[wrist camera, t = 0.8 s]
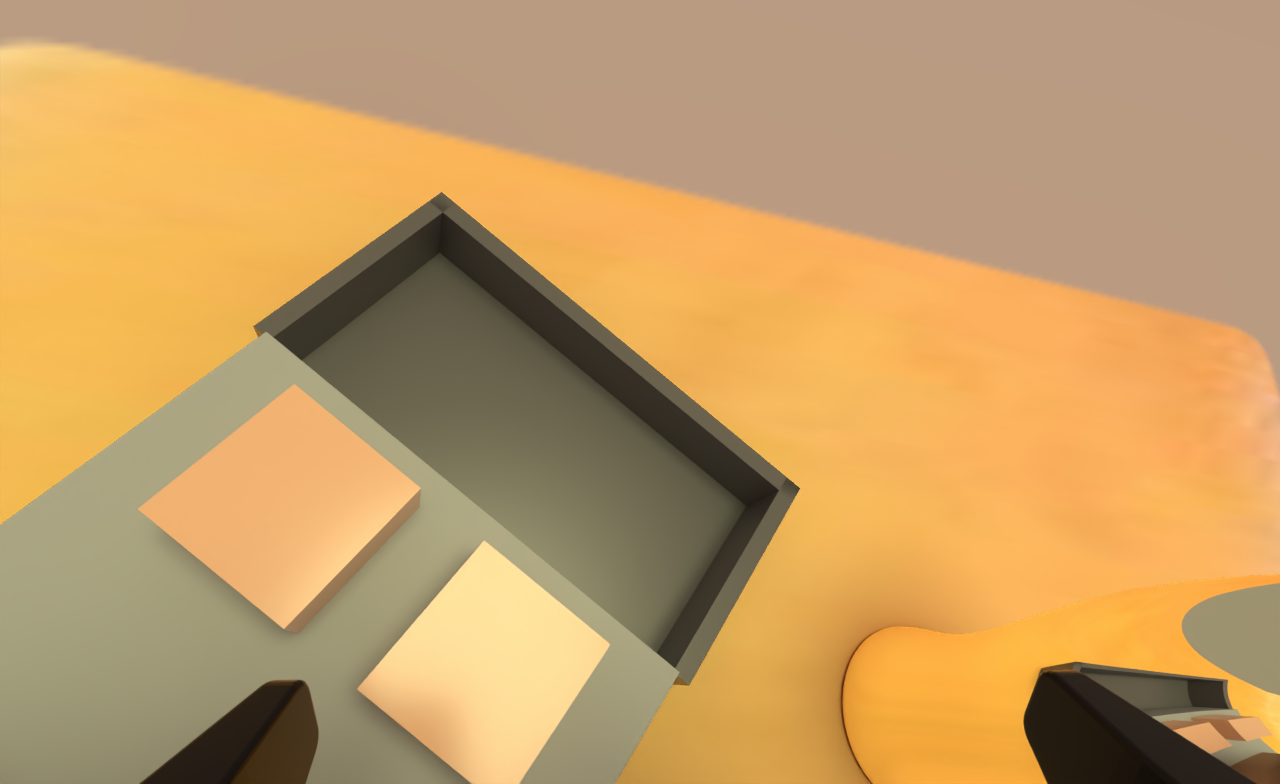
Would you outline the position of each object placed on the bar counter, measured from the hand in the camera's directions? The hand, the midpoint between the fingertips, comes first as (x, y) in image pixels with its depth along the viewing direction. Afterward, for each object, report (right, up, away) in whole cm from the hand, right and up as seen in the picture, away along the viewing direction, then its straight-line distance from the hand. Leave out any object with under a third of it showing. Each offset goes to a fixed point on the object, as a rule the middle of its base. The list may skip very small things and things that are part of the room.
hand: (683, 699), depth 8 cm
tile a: (-5, -3, +8) cm, 10 cm away
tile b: (-9, +1, +8) cm, 12 cm away
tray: (-4, +2, +15) cm, 15 cm away
